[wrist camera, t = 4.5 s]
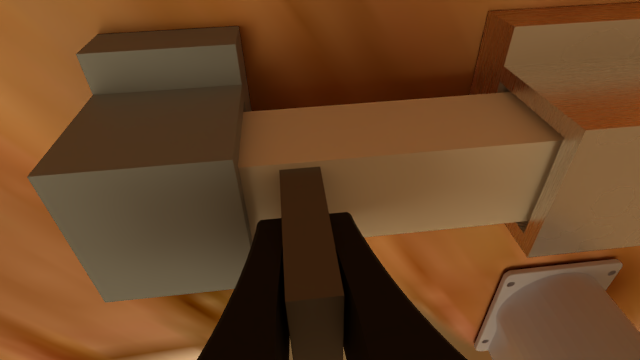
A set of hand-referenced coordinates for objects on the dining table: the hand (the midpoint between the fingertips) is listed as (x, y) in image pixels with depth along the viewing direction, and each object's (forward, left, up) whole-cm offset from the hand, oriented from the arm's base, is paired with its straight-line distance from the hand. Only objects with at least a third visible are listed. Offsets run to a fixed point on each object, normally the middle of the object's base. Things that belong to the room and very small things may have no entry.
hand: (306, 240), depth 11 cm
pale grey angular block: (0, -2, -5) cm, 5 cm away
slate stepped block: (0, +4, -7) cm, 8 cm away
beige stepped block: (0, -12, -7) cm, 14 cm away
